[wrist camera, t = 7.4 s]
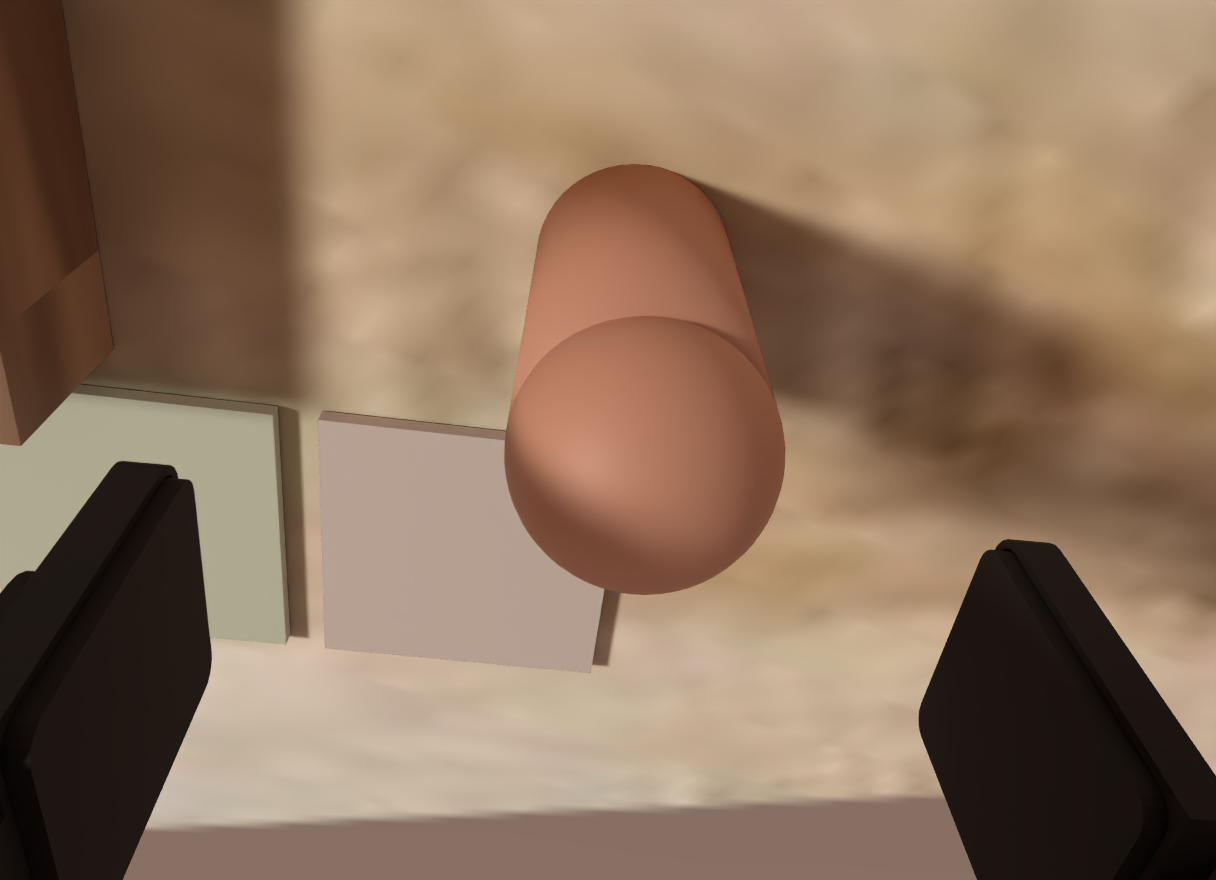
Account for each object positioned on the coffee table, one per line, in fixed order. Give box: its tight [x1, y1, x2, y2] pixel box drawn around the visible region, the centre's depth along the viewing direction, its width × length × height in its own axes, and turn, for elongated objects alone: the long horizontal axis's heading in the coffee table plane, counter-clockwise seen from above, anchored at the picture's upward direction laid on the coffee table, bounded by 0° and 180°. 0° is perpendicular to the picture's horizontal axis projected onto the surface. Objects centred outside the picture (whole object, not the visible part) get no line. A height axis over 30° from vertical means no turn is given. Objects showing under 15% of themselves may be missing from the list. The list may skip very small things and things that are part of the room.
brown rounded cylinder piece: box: [504, 164, 785, 595], centre depth 16 cm, size 4×4×10 cm
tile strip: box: [0, 384, 604, 673], centre depth 24 cm, size 23×7×1 cm, turn 83°
